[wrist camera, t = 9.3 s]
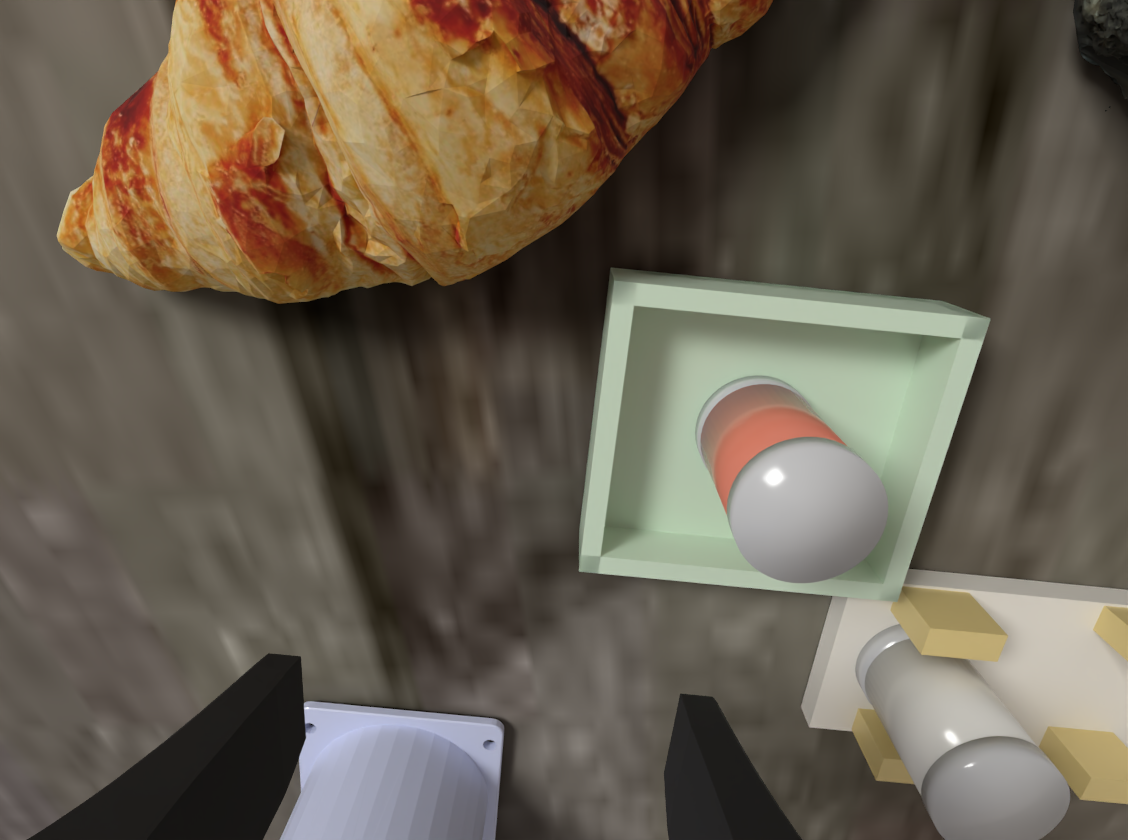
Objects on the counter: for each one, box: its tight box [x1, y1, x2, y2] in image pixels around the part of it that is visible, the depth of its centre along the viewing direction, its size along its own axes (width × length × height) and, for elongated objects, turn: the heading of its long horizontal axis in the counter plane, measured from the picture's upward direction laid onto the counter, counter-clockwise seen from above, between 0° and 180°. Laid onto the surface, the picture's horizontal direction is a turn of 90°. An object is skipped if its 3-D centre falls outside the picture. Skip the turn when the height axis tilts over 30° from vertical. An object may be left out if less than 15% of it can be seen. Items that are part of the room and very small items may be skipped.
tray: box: [579, 267, 990, 602], centre depth 20 cm, size 9×10×2 cm
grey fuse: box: [855, 624, 1070, 840], centre depth 21 cm, size 4×4×6 cm
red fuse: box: [695, 375, 888, 583], centre depth 18 cm, size 4×4×6 cm
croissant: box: [57, 0, 773, 304], centre depth 16 cm, size 21×10×8 cm, turn 115°
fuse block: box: [801, 569, 1128, 804], centre depth 23 cm, size 6×20×3 cm, turn 84°
